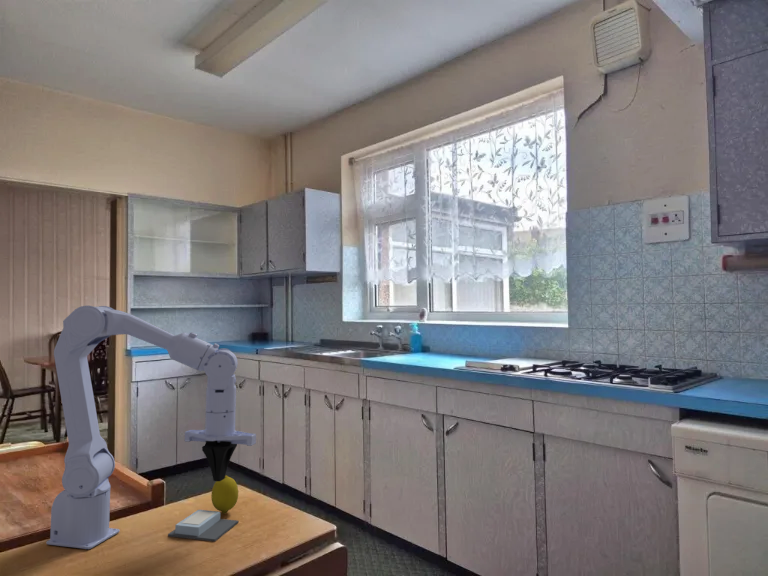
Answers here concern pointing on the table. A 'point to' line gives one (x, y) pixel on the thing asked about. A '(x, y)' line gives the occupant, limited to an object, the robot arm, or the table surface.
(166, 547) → the table surface
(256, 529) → the table surface
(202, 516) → the plaque
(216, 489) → the lemon
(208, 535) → the mat
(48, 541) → the robot arm
